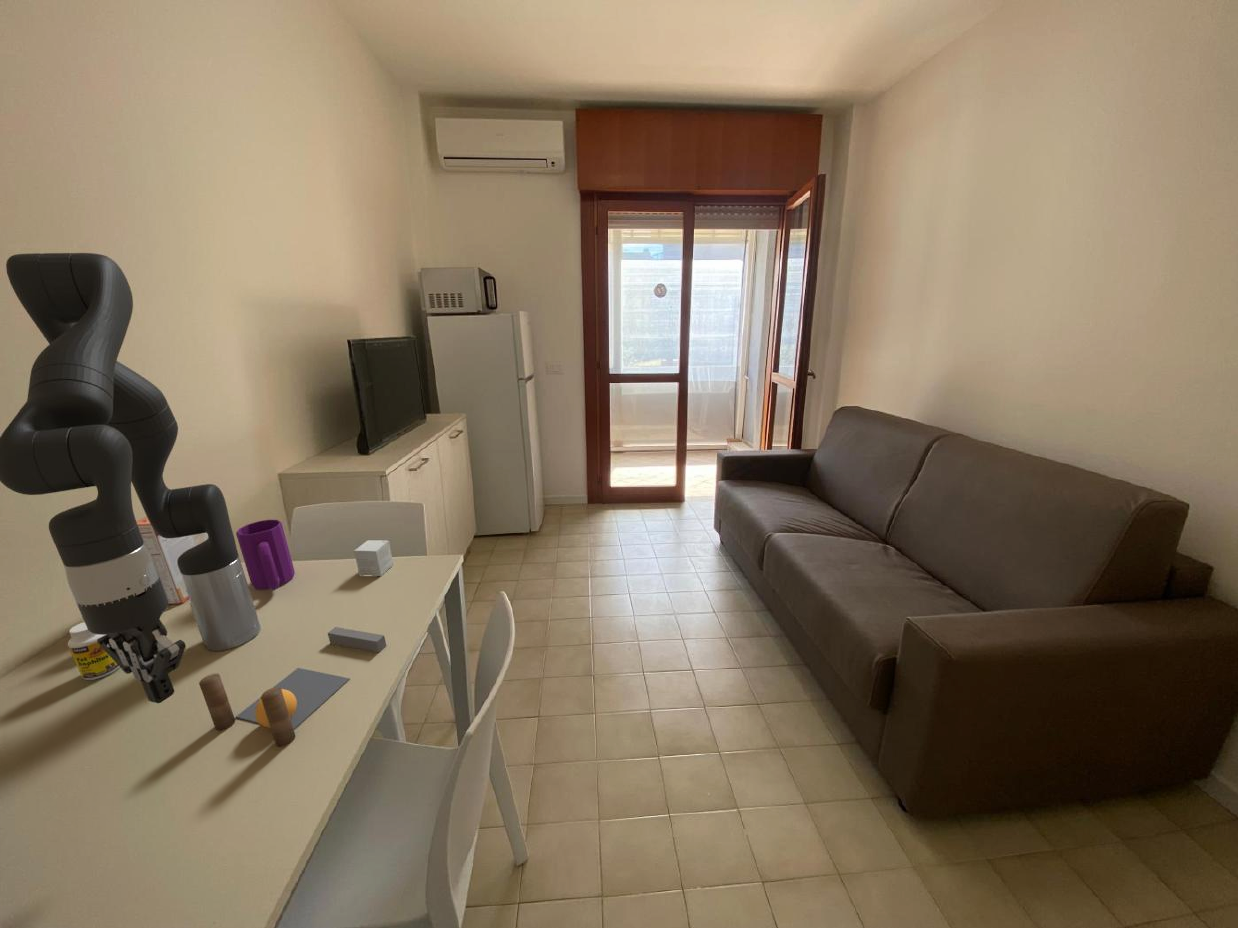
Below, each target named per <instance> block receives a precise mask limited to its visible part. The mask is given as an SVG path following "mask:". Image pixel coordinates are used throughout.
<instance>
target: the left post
mask: <svg viewBox="0 0 1238 928" xmlns="http://www.w3.org/2000/svg"><path fill="white" fill-rule="evenodd" d="M198 684H199V688H200V690H201V693H202V695H203V698H204V701H205V703H206V707H207V709H208V711H209V715H210V717H211V720H212V723H213V726H214V729H215V731H217V732H220V731H221V732H222V731H225V730H226V729H229V728H230V727H232V726H233V725H234V724H235V722H236V717H235V715H234V712H233V710H232V706H231V704H230V701H229V697H228V694H227V692H226V689H225V687H224V684H223V681H222V677H221V675H220V674H219V673H211V674H209V675H207V676H205V677H203V678H202V679H201V680H199V682H198Z"/></svg>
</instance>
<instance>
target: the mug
mask: <svg viewBox="0 0 1238 928" xmlns="http://www.w3.org/2000/svg"><path fill="white" fill-rule="evenodd" d="M235 534H236V538H237V542H238V544H239V548H240V551H241V555H242V557H243V561H244V564H245V568H246V571H247V573H248V574H247V575H248V578H249V581H250V584H251V586H252V587H253V588H254V589H255V590H272V591H273V590H275V591H276V590H277V589H278V588H279V587H280V586H283V585H285V584H287V583H288V582H289V581H291V580H292V579H294V576H295V574H296V571H295V567H294V564H293V561H292V557H291V553H290V549H289V544H288V541H287V538H286V534H285V530H284V527H283V523H282V521H280V520H279V519H264V520H258V521H254V522H251V523H248V524H246V525H244V526H242V527H240V528H238V530H236V532H235Z"/></svg>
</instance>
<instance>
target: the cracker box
mask: <svg viewBox="0 0 1238 928" xmlns="http://www.w3.org/2000/svg"><path fill="white" fill-rule="evenodd" d="M136 522H137V525H138V527H139V530H140V533H141V536H142V538H143V541H144V544H145V546H146V548H147V549H148V551H149V553H150V554H151V556H152V558H153V561H154V563H155V566H156V569H157V572H158V574H159V577H160V580H161V582H162V585H163V588H164V591H165V593H166V596H167V599H168V606H169V605H180V604H183V603H185V602H187V601H188V600H190V598H189V595H188V592H187V589H186V587H185V584H184V581H183V578H182V575H181V573H180V570H179V567H178V564H177V560H178V558H179V556H180V555H181V554H183V553H184V552H185V551H187V550H189V549H191V548H193V547H195V546H197V545H199V544H201V543H202V542H204V541H206V540H207V539H208V534H207V533H201V534H196V535H190V536H184V537H178V538H163V537H161V536H160V535H159V534H157V532H156V531H155V530H154V529H153V527H152V525H151V524H150V522H149V520H148V518H147V516H145V517H143V518H141V519H139V520H136Z"/></svg>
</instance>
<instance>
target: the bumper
mask: <svg viewBox="0 0 1238 928" xmlns="http://www.w3.org/2000/svg"><path fill="white" fill-rule="evenodd" d="M327 637H328V641H329V643H330V645H331V644H332V645H335V646H337V645H338V646H342V647H346V648H347V647H348V648H354V649H358V650H364V651H370V652H375V653H381V652H382V651H383V650H384V649H385V648H386V647H387V643H386V642H387V641H386V637H385V635H384V634H377V633H372V632H366V631H361V630H355V629H349V628H343V627H337V626H335V627H333V628H332V629H331V630H330V631H328V632H327Z"/></svg>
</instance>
